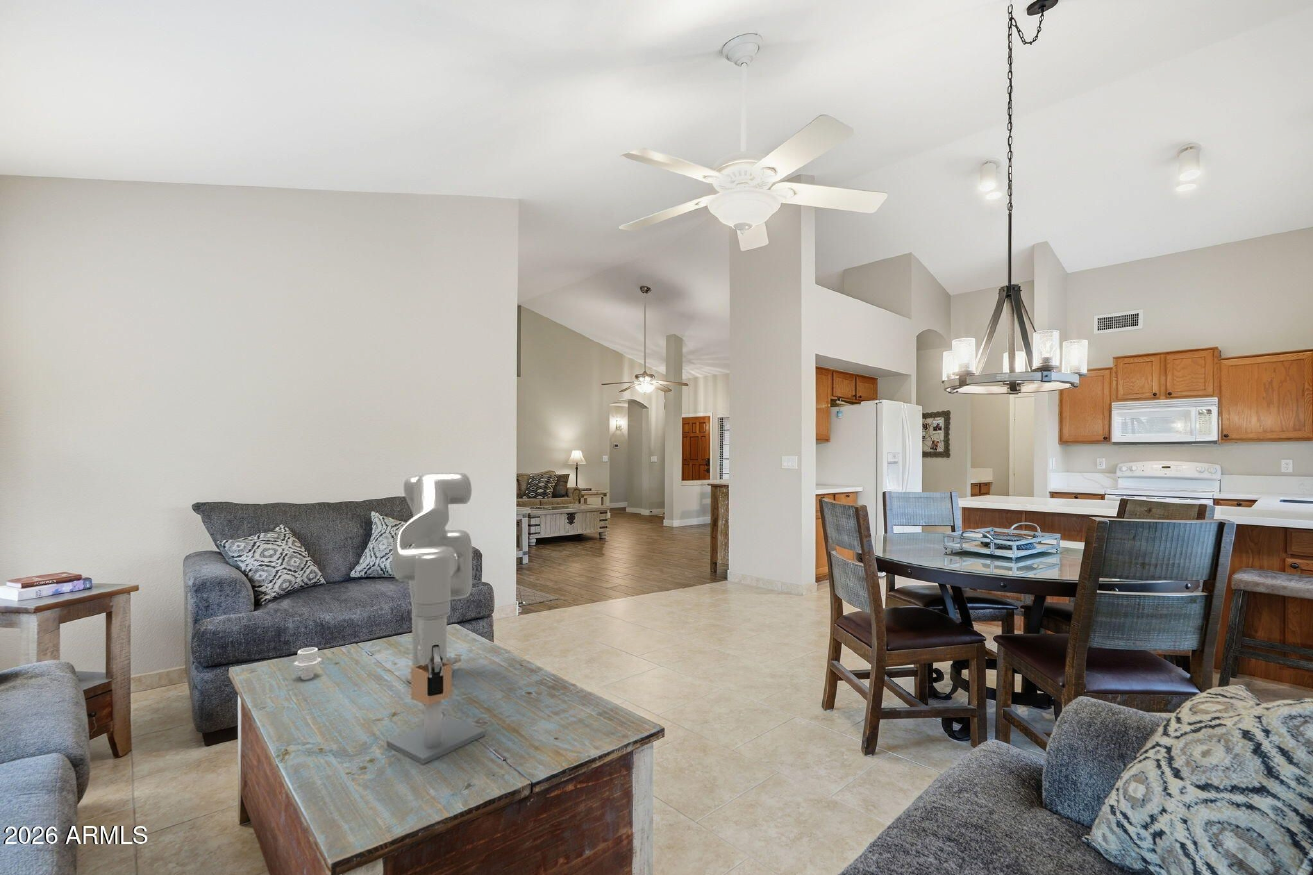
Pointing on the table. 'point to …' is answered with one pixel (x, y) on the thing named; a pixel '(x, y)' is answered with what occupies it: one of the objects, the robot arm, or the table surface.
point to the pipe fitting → (307, 662)
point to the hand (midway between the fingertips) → (432, 687)
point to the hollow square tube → (420, 684)
